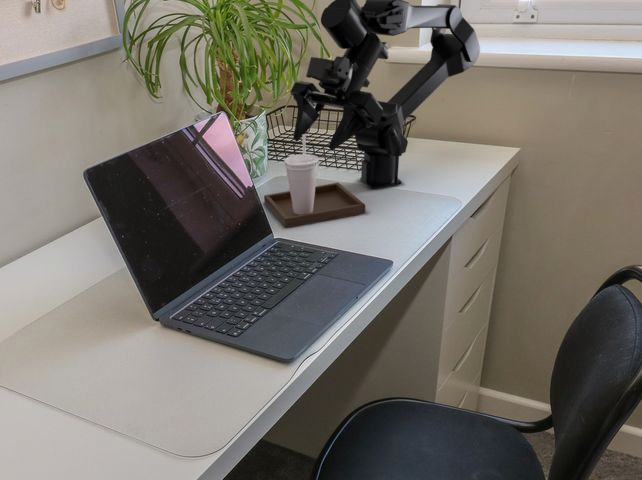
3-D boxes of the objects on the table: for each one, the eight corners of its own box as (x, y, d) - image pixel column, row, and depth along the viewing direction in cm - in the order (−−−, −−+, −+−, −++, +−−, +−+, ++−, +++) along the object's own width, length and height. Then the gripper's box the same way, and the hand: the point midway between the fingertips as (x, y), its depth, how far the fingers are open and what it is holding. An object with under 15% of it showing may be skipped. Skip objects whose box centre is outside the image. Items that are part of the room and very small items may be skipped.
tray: (338, 190, 139) (338, 182, 138) (365, 213, 128) (365, 204, 127) (264, 203, 136) (263, 195, 135) (285, 227, 126) (285, 219, 125)
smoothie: (315, 218, 127) (313, 140, 119) (282, 216, 129) (278, 139, 120) (323, 205, 132) (322, 129, 123) (291, 204, 134) (288, 129, 125)
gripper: (295, 32, 123) (253, 110, 125) (373, 40, 111) (325, 127, 112) (327, 71, 132) (287, 144, 133) (403, 82, 120) (358, 163, 121)
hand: (312, 144), depth 125 cm, fingers open, 9 cm apart
